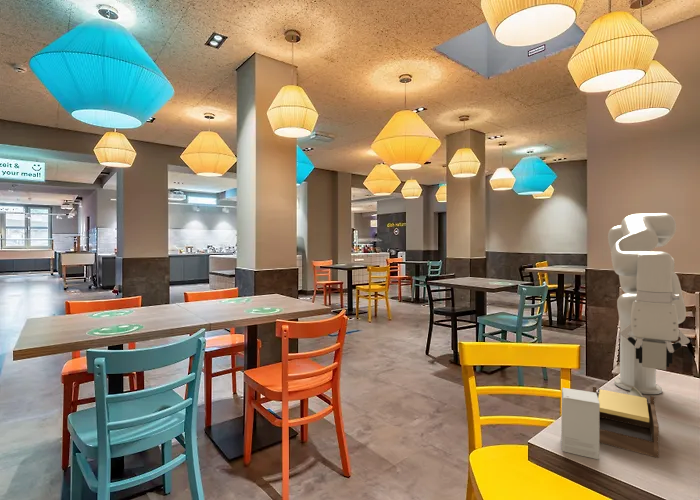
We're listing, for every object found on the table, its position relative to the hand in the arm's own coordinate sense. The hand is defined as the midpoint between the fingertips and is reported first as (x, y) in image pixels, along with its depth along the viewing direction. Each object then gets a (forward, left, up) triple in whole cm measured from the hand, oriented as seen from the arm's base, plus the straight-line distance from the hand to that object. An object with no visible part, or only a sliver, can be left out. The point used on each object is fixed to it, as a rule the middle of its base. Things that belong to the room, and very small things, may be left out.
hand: (653, 363), depth 102 cm
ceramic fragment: (-11, -3, -16) cm, 20 cm away
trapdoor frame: (+16, -7, -15) cm, 23 cm away
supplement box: (+30, -15, -15) cm, 37 cm away
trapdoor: (+15, -7, -8) cm, 19 cm away
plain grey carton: (0, 0, -1) cm, 1 cm away
